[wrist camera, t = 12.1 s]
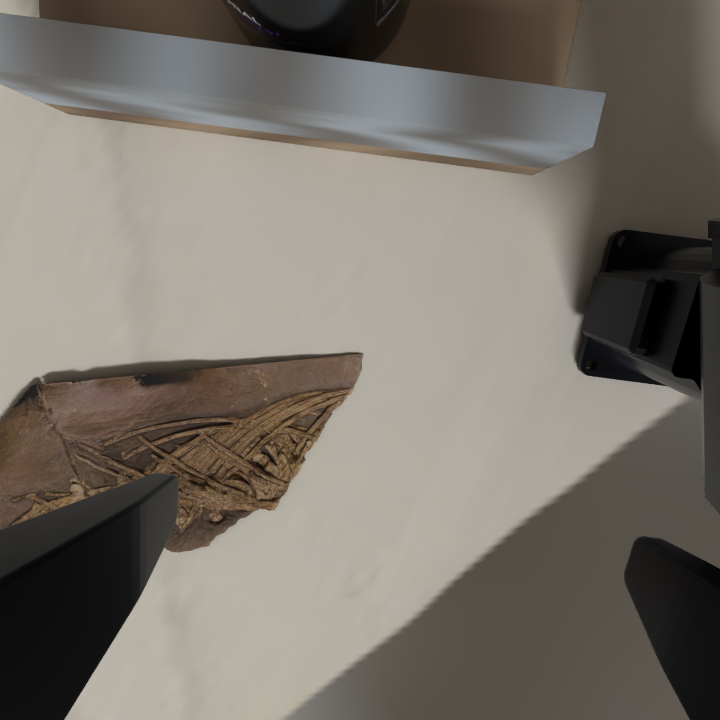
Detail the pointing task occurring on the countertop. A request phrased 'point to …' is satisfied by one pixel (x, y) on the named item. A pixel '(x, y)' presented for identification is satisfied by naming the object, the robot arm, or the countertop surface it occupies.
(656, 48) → the countertop surface
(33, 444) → the wooden fragment
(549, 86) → the cleat board
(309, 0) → the supplement bottle
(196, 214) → the countertop surface
